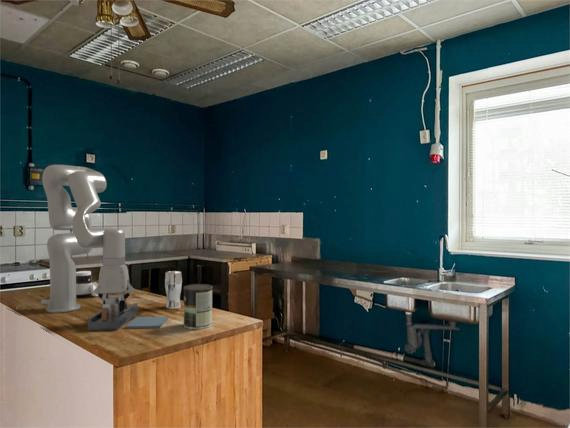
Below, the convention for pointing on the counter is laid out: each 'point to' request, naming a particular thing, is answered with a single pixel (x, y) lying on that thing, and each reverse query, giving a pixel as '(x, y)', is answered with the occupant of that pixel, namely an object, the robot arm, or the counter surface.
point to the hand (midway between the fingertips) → (114, 310)
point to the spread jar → (85, 285)
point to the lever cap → (113, 305)
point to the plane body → (111, 319)
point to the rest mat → (146, 322)
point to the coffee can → (198, 306)
